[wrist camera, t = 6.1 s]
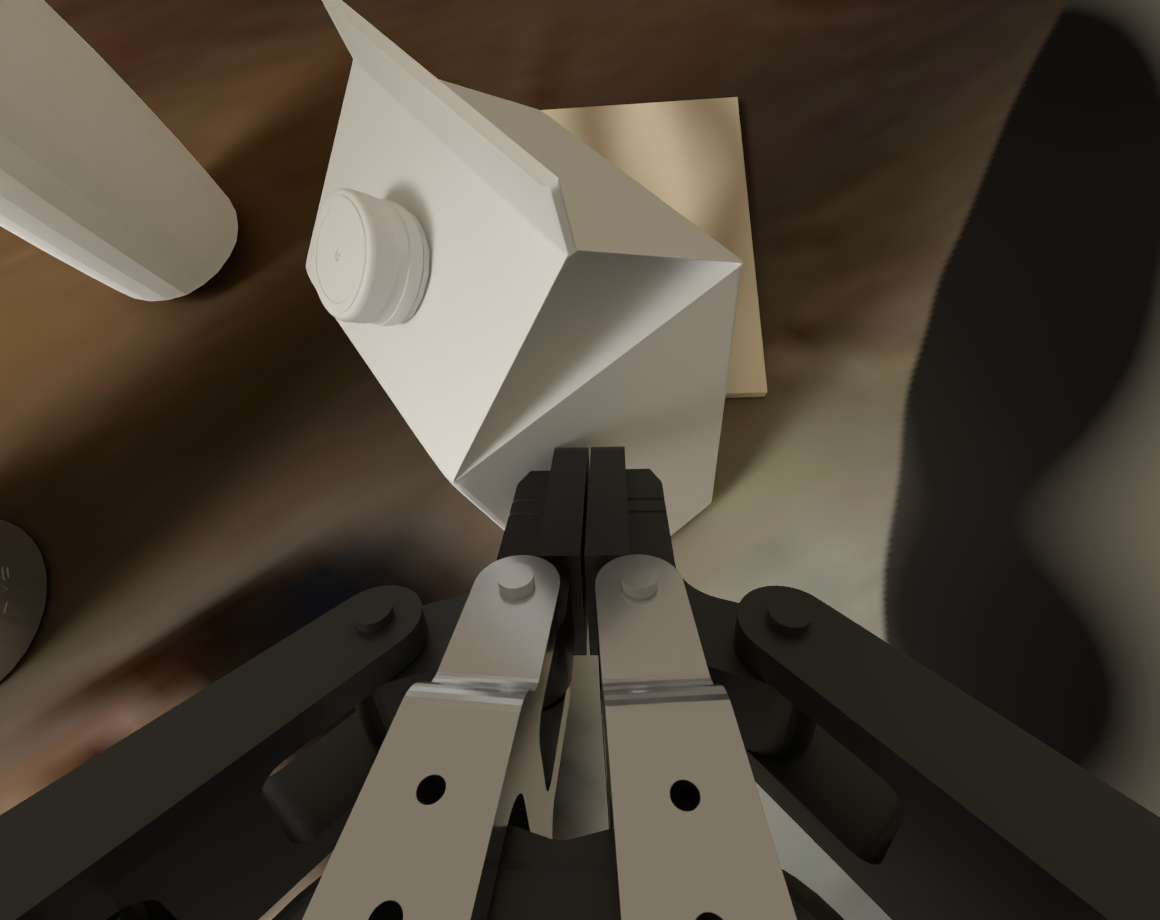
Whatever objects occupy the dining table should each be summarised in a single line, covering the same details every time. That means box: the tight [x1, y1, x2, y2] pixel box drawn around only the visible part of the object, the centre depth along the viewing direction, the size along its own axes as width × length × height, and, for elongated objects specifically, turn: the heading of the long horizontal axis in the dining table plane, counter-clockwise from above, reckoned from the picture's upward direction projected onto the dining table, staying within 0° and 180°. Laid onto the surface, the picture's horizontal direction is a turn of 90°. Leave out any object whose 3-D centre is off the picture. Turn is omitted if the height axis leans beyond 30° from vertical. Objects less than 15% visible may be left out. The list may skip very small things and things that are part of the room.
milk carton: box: [306, 0, 744, 536], centre depth 16 cm, size 7×7×19 cm
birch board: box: [540, 97, 767, 398], centre depth 29 cm, size 18×18×1 cm
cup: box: [0, 0, 238, 301], centre depth 24 cm, size 8×8×14 cm
